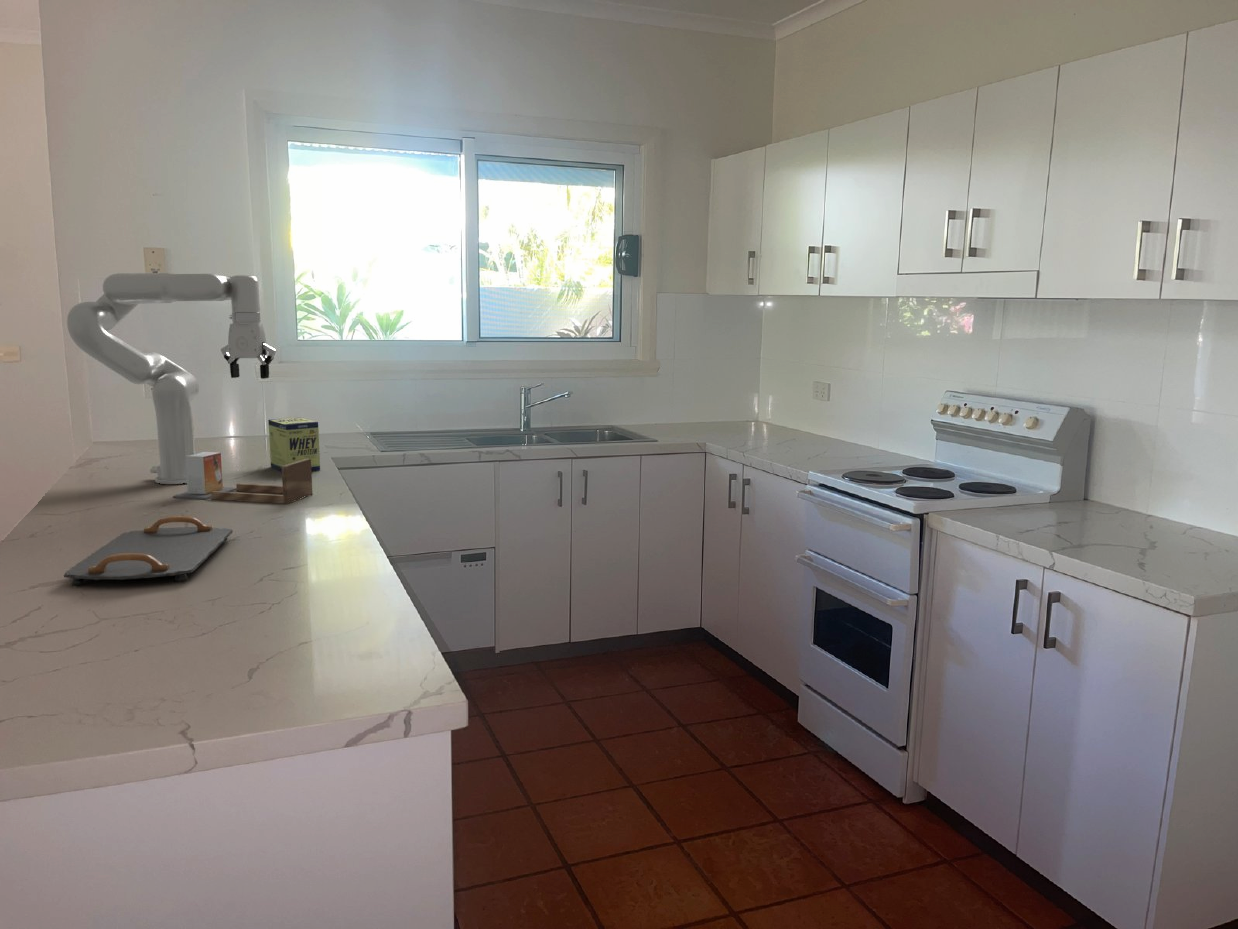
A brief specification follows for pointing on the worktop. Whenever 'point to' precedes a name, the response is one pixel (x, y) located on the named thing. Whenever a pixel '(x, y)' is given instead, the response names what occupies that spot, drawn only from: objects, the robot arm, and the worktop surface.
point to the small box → (204, 472)
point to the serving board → (152, 552)
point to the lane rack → (276, 486)
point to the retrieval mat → (202, 496)
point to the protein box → (293, 442)
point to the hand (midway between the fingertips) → (250, 377)
